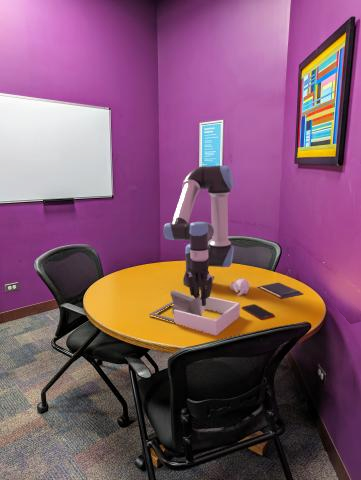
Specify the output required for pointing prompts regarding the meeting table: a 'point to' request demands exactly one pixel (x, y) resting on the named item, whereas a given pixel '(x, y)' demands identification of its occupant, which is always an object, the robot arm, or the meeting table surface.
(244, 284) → the pale pink lumpy piece
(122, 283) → the meeting table surface
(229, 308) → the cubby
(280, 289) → the wallet
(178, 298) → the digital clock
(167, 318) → the frame
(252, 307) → the cell phone
